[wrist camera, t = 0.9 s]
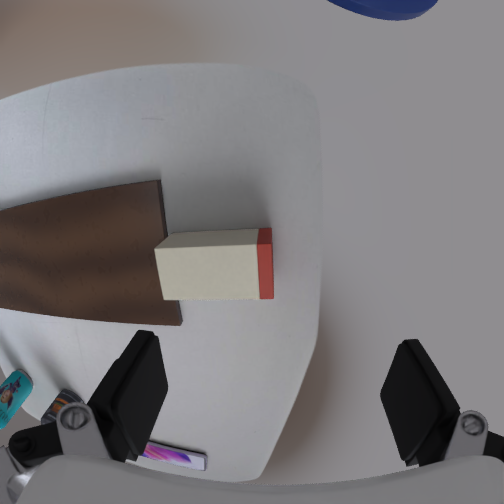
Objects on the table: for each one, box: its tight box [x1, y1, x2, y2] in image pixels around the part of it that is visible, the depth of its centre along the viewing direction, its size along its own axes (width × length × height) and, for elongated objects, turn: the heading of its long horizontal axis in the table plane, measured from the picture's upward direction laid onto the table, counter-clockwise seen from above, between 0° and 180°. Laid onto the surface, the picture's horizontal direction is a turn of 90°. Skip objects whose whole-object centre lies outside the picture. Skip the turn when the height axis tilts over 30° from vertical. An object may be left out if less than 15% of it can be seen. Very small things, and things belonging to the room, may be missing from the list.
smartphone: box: [142, 441, 207, 471], centre depth 43 cm, size 7×1×15 cm
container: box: [154, 228, 274, 300], centre depth 26 cm, size 5×10×5 cm, turn 94°
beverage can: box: [0, 370, 33, 429], centre depth 34 cm, size 6×6×15 cm
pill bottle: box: [41, 390, 83, 425], centre depth 35 cm, size 6×6×11 cm
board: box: [0, 180, 183, 326], centre depth 30 cm, size 16×39×1 cm, turn 94°
